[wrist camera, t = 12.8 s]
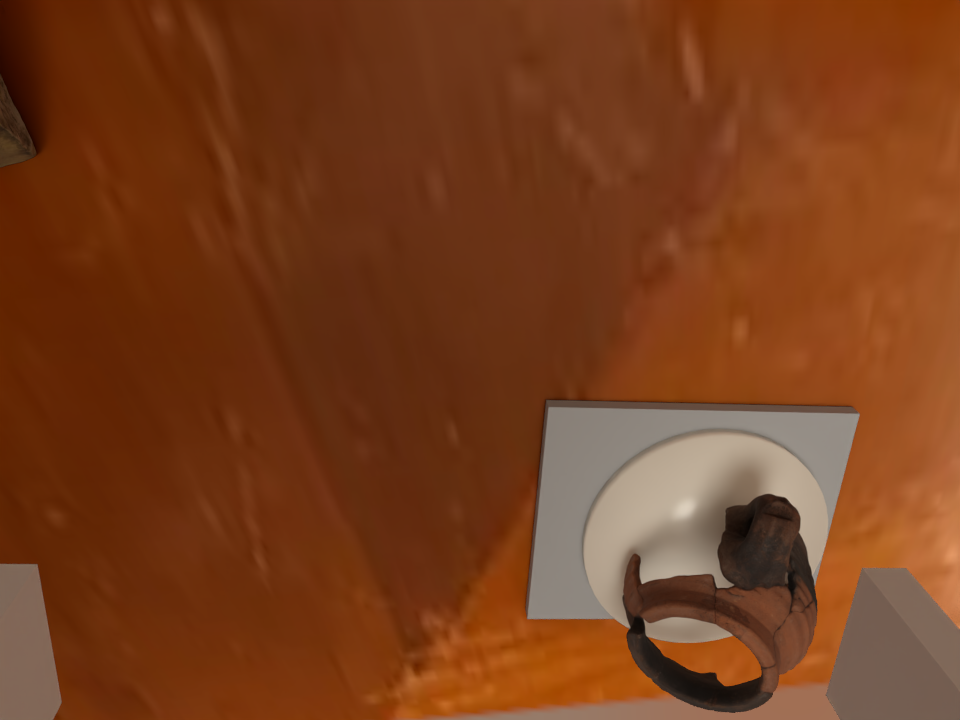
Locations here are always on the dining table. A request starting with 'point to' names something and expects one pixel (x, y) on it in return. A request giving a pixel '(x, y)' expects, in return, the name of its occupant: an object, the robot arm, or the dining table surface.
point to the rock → (12, 132)
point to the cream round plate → (690, 515)
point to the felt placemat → (622, 435)
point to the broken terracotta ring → (733, 606)
